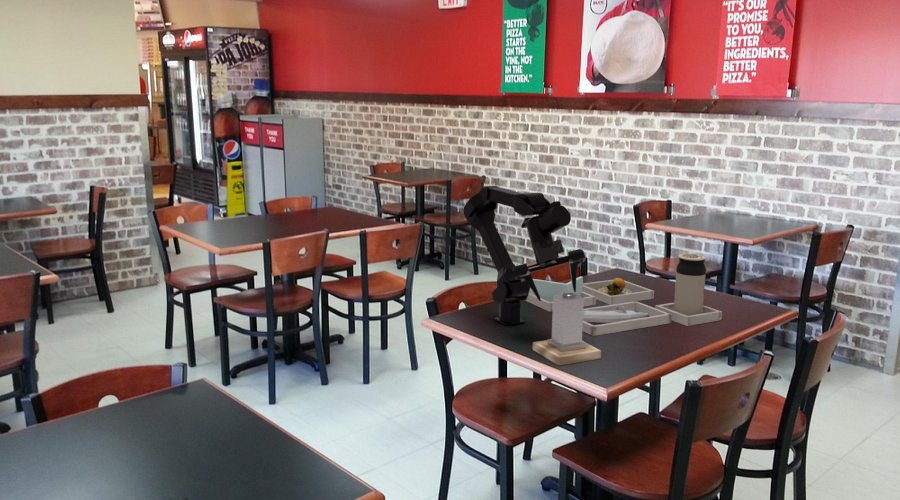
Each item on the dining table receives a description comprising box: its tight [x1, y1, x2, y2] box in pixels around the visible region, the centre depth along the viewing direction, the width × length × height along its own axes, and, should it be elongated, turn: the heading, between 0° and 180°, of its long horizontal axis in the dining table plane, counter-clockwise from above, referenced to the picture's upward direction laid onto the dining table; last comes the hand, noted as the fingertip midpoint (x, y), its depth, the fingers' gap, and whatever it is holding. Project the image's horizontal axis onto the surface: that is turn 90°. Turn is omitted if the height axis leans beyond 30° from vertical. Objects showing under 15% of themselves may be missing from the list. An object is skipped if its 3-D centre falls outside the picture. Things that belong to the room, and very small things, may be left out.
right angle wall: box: [531, 276, 584, 302], centre depth 227 cm, size 12×12×8 cm
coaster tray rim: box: [524, 288, 597, 312], centre depth 227 cm, size 17×17×2 cm
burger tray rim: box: [582, 279, 655, 305], centre depth 235 cm, size 17×17×2 cm
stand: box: [532, 339, 602, 366], centre depth 181 cm, size 12×12×2 cm
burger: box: [596, 274, 634, 296], centre depth 234 cm, size 12×12×8 cm
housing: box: [546, 293, 587, 352], centre depth 179 cm, size 6×7×13 cm
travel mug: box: [673, 253, 707, 316], centre depth 210 cm, size 8×8×18 cm
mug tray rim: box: [654, 302, 723, 327], centre depth 212 cm, size 13×13×2 cm
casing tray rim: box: [582, 301, 672, 337], centre depth 207 cm, size 15×27×2 cm, turn 116°
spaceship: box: [583, 305, 649, 324], centre depth 209 cm, size 23×7×4 cm, turn 106°
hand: (557, 296), depth 188 cm, fingers open, 9 cm apart
